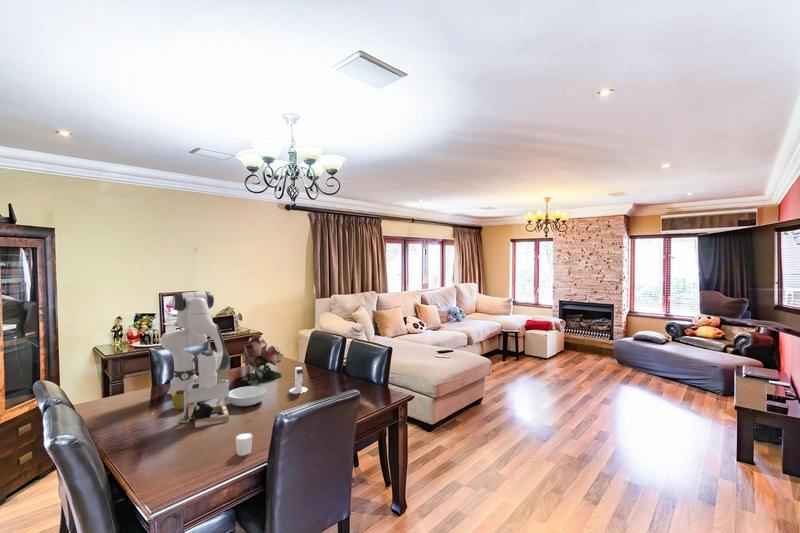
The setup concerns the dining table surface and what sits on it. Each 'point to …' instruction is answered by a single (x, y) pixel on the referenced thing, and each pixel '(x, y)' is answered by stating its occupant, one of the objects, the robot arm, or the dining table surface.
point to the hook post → (186, 411)
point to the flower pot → (178, 399)
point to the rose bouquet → (260, 360)
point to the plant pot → (222, 373)
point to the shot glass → (243, 443)
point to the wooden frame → (214, 419)
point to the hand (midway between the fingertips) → (207, 407)
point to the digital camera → (202, 411)
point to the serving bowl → (246, 395)
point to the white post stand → (298, 381)
